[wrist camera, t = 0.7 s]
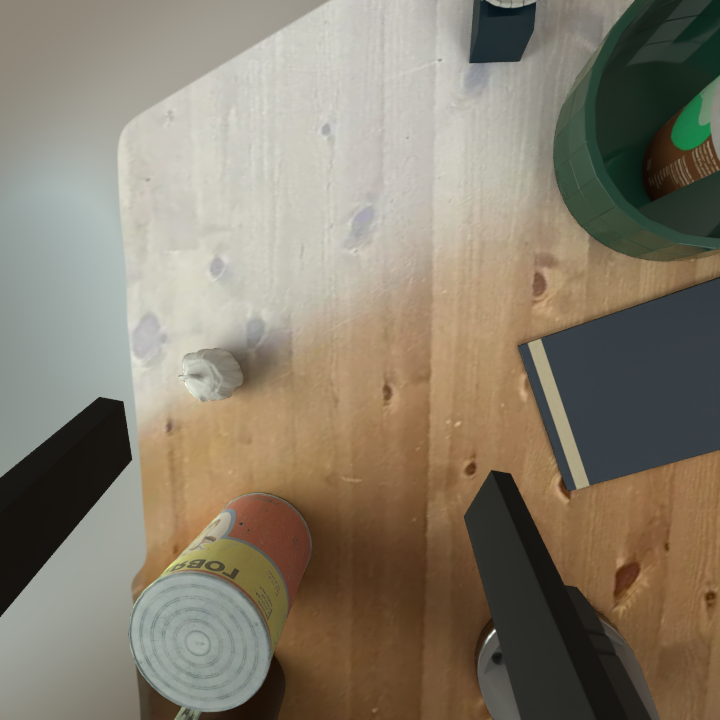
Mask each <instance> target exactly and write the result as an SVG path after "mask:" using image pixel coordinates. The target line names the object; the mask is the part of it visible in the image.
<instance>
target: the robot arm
mask: <svg viewBox="0 0 720 720" xmlns="http://www.w3.org/2000/svg"><path fill="white" fill-rule="evenodd" d="M131 460H132V455H131V448H130V442H129V436H128V429H127V422H126V416H125V410H124V403H123V401H118V400H113V399H108V398H102V397H99V398H97V399H96V400H95V401H94V402H93V403H91V404H90V405H89V406H88V407H86V408H85V409H84V410H83V411H82V412H80V413H79V414H78V415H77V416H75V417H74V418H73V419H72V420H71V421H69V422H68V423H67V424H66V425H64V426H63V427H62V428H61V429H60V430H58V431H57V432H56V433H55V434H53V435H52V436H51V437H50V438H48V439H47V440H46V441H45V442H44V443H42V444H41V445H40V446H39V447H37V448H36V449H35V450H34V451H33V452H31V453H30V454H29V455H28V456H26V457H25V458H24V459H23V460H22V461H20V462H19V463H18V464H17V465H15V466H14V467H13V468H12V469H11V470H9V471H8V472H7V473H6V474H4V476H2V477H1V478H0V617H1V615H2V614H3V613H4V612H5V611H6V610H7V608H8V607H9V606H10V605H11V604H12V603H13V601H14V600H15V599H16V598H17V597H18V595H19V594H20V593H21V592H22V590H23V589H24V588H25V587H26V586H27V585H28V583H29V582H30V581H31V580H32V579H33V577H34V576H35V575H36V574H37V573H38V571H39V570H40V569H41V568H42V567H43V565H44V564H45V563H46V562H47V561H48V559H49V558H50V557H51V556H52V555H53V553H54V552H55V551H56V550H57V549H58V548H59V546H60V545H61V544H62V543H63V542H64V540H65V539H66V538H67V537H68V536H69V534H70V533H71V532H72V531H73V530H74V528H75V527H76V526H77V525H78V524H79V522H80V521H81V520H82V519H83V518H84V516H85V515H86V514H87V513H88V512H89V511H90V509H91V508H92V507H93V506H94V505H95V503H96V502H97V501H98V500H99V499H100V497H101V496H102V495H103V494H104V493H105V491H106V490H107V489H108V488H109V487H110V485H111V484H112V483H113V482H114V481H115V479H116V478H117V477H118V476H119V475H120V473H121V472H122V471H123V470H124V469H125V468H126V466H127V465H128V464H129V463H130V462H131ZM464 519H465V523H466V527H467V530H468V534H469V537H470V541H471V544H472V548H473V551H474V555H475V559H476V562H477V566H478V569H479V573H480V576H481V580H482V583H483V587H484V591H485V594H486V598H487V601H488V605H489V608H490V612H491V615H492V619H491V620H490V621H489V622H488V624H487V625H486V626H485V628H484V629H483V631H482V633H481V635H480V637H479V639H478V642H477V646H476V650H475V670H476V675H477V679H478V683H479V688H480V691H481V694H482V697H483V699H484V702H485V704H486V707H487V709H488V711H489V713H490V715H491V717H492V719H493V720H660V717H659V715H658V712H657V709H656V707H655V704H654V701H653V699H652V696H651V693H650V691H649V688H648V685H647V683H646V680H645V677H644V675H643V672H642V669H641V667H640V665H639V663H638V661H637V659H636V657H635V655H634V653H633V651H632V650H631V648H630V647H629V645H628V644H627V642H626V641H625V640H624V638H623V637H622V635H621V634H620V633H619V631H618V630H617V629H616V628H615V626H614V625H613V624H612V623H611V622H610V621H609V620H608V619H607V618H605V617H604V616H603V615H602V614H600V613H599V612H597V611H596V610H594V608H593V607H592V606H591V604H590V603H589V602H588V601H587V599H586V598H585V597H584V596H583V594H582V593H581V592H580V591H579V589H578V588H577V587H573V586H566V585H564V583H563V581H562V579H561V577H560V575H559V573H558V571H557V569H556V567H555V565H554V563H553V561H552V559H551V556H550V554H549V552H548V550H547V548H546V546H545V544H544V542H543V540H542V538H541V536H540V534H539V531H538V529H537V527H536V525H535V523H534V521H533V519H532V517H531V515H530V513H529V511H528V509H527V506H526V504H525V502H524V500H523V498H522V496H521V494H520V492H519V490H518V488H517V486H516V484H515V482H514V479H513V477H512V475H511V474H510V473H505V472H499V471H494V470H491V472H490V473H489V475H488V477H487V478H486V480H485V482H484V483H483V485H482V487H481V488H480V490H479V492H478V493H477V495H476V497H475V498H474V500H473V502H472V503H471V505H470V507H469V508H468V510H467V512H466V513H465V515H464Z"/></svg>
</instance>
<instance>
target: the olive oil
mask: <svg viewBox="0 0 720 720" xmlns="http://www.w3.org/2000/svg"><path fill="white" fill-rule="evenodd" d="M284 692H285V678H284V674H283V671H282V669H281V667H280V665H279V663H278V662H277V661H276V659H275V658H274V657H273V656H272V659H271V662H270V667H269V670H268V673H267V676H266V678H265V680H264V682H263V684H262V686H261V687H260V688H259V690H258V691H257V692H256V693H255V694H254V695H253V696H252V697H251V698H250V699H249V700H247V701H246V702H244V703H243V704H241V705H239V706H237V707H234V708H232V709H228V710H225V711H219V712H202V711H196V710H191V709H188V708H185V707H182V708H181V710H180V711H179V713H178V715H177V716H176V718H175V720H277V718H278V714H279V711H280V707H281V704H282V700H283V696H284Z"/></svg>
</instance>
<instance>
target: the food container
mask: <svg viewBox="0 0 720 720" xmlns="http://www.w3.org/2000/svg"><path fill="white" fill-rule="evenodd" d="M718 170H720V75H719V76H718V77H717V78H716V79H715V80H714V81H712V82H711V83H710V84H709V85H708V86H707V87H706V88H704V89H703V90H702V91H701V92H700V93H699V94H698V95H697V96H695V97H694V98H693V99H692V100H691V101H690V102H689V103H687V104H686V105H685V106H684V107H683V108H682V109H681V110H680V111H678V112H677V113H676V114H675V115H674V116H673V117H672V118H670V119H669V120H668V121H667V122H666V123H665V124H664V125H662V126H661V128H660V129H659V130H658V131H657V132H656V133H655V135H654V136H653V137H652V139H651V140H650V142H649V144H648V146H647V148H646V151H645V154H644V158H643V163H642V180H643V185H644V188H645V191H646V194H647V195H648V197H649V199H650V201H651V202H653V201H655V200H657V199H659V198H661V197H663V196H665V195H667V194H669V193H672V192H674V191H676V190H678V189H680V188H682V187H684V186H686V185H689V184H691V183H693V182H695V181H697V180H699V179H701V178H703V177H705V176H708V175H710V174H712V173H714V172H716V171H718Z"/></svg>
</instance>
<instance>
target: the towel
mask: <svg viewBox="0 0 720 720" xmlns="http://www.w3.org/2000/svg"><path fill="white" fill-rule="evenodd" d="M518 348H519V351H520V354H521V357H522V359H523V362H524V365H525V368H526V371H527V374H528V377H529V380H530V383H531V386H532V389H533V392H534V395H535V398H536V401H537V404H538V407H539V410H540V413H541V416H542V419H543V422H544V425H545V428H546V431H547V434H548V436H549V439H550V442H551V445H552V448H553V451H554V454H555V457H556V460H557V463H558V466H559V469H560V472H561V475H562V478H563V481H564V484H565V487H566V489H567V490H568V491H571V490H574V489H580V488H584V487H587V486H590V485H593V484H596V483H600V482H604V481H607V480H611V479H615V478H618V477H622V476H625V475H629V474H633V473H636V472H640V471H644V470H647V469H651V468H655V467H658V466H662V465H666V464H669V463H673V462H676V461H680V460H684V459H687V458H691V457H695V456H698V455H702V454H706V453H709V452H713V451H717V450H720V277H719V278H716V279H713V280H710V281H707V282H704V283H702V284H699V285H696V286H693V287H690V288H687V289H684V290H681V291H678V292H675V293H672V294H669V295H666V296H663V297H660V298H657V299H654V300H651V301H648V302H646V303H643V304H640V305H637V306H634V307H631V308H628V309H625V310H622V311H619V312H616V313H613V314H610V315H607V316H604V317H601V318H598V319H595V320H592V321H590V322H587V323H584V324H581V325H578V326H575V327H572V328H569V329H566V330H563V331H560V332H557V333H554V334H551V335H548V336H545V337H542V338H539V339H536V340H533V341H531V342H528V343H525V344H522V345H519V346H518Z"/></svg>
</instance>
